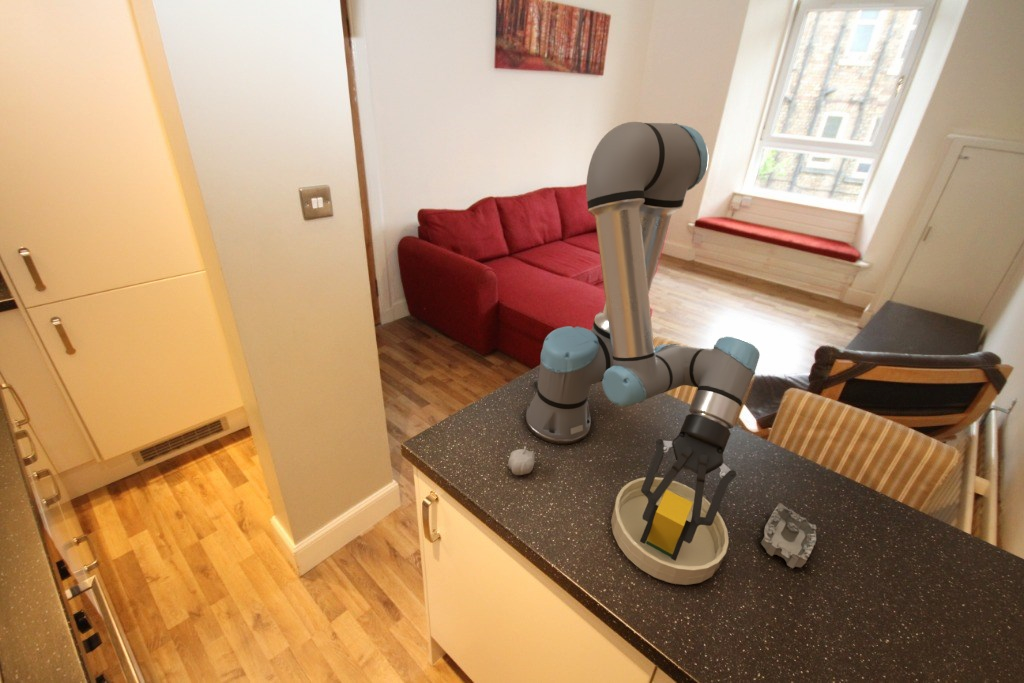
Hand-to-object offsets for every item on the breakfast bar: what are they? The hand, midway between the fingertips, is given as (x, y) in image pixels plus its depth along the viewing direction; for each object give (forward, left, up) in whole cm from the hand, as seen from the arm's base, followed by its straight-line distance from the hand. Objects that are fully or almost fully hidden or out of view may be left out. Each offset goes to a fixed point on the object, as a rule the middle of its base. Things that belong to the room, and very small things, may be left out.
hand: (657, 550), depth 73 cm
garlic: (-28, -11, -4) cm, 30 cm away
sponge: (-3, +5, -3) cm, 6 cm away
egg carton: (+6, +26, -4) cm, 27 cm away
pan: (-4, +6, -4) cm, 8 cm away
